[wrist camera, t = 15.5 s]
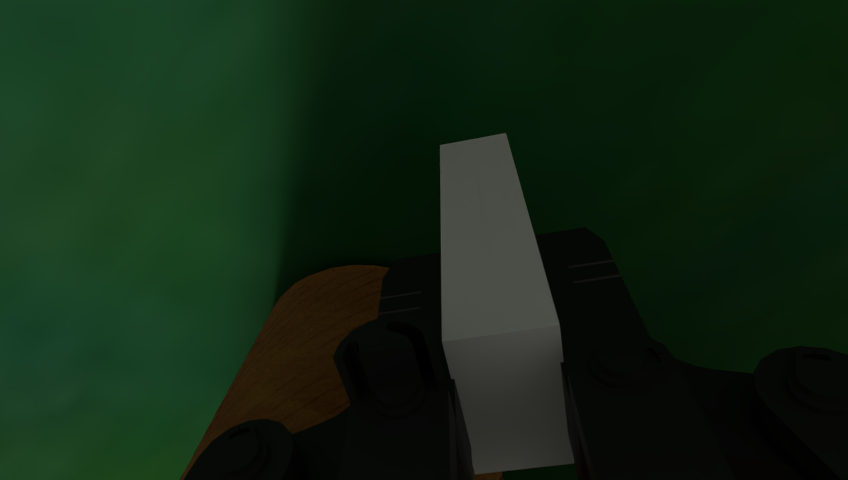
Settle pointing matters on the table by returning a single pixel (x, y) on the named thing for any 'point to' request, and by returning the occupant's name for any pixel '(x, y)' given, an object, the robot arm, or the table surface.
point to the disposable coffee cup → (303, 355)
